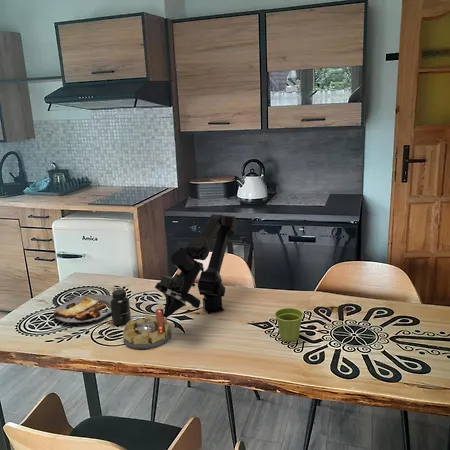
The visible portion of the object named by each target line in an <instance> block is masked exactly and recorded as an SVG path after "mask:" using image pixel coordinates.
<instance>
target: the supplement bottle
mask: <svg viewBox="0 0 450 450" xmlns="http://www.w3.org/2000/svg"><path fill="white" fill-rule="evenodd" d="M126 292H127V291H126V290H125V289H116V290H113V291H112V293H111V296H112V298H113V299H112V300H111V302H110V305H111V313H110V314H111V321H112V324H113V325H115V326H119V327H120V326H125V325H126V326H127V322H129V321H130V320H131V321H132V316H131V305H130V303H131V302H130V299H129V298H128V297H127V294H126Z"/></svg>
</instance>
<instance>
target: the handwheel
mask: <svg viewBox="0 0 450 450" xmlns="http://www.w3.org/2000/svg"><path fill="white" fill-rule="evenodd" d="M142 322H154V323H155V327H157V331H156V332H153V333H151V334H148V331H147V332H142V334H136V333H135V331H136V330H138V328H137V326H138V325H139V324H140V323H142ZM169 331H171V326H170V323H169V322H168V319H167V318H165V317H164V309H163V308H157V309H155V317H152V315H150V314H148V315H144V319H143V318H139V319H136V320H132V319H131V320H130V321H129V322H127V324H126V326H125V327H124V329H123V330H122V337H123V336H124V339H125V340H127V341H128V342H129V343H131V344H132V343H134V344H149V343H152V344H153V343H155V342H157V341H160V340H162V339H165V337H167V336H168V333H169ZM124 339H123V340H124Z"/></svg>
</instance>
